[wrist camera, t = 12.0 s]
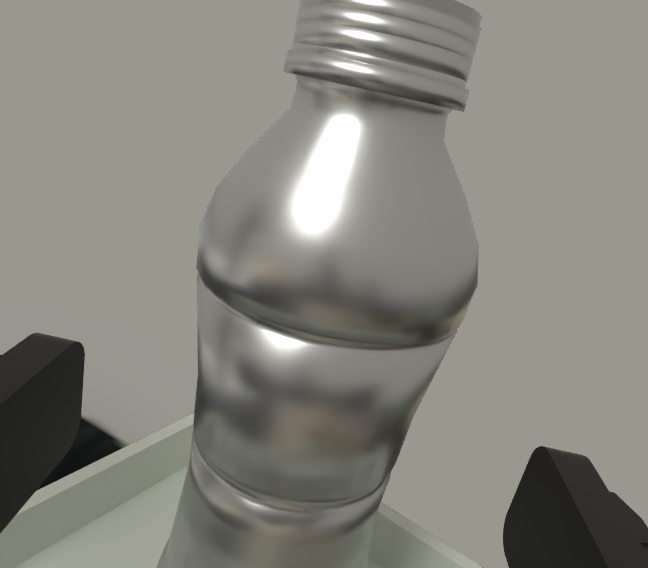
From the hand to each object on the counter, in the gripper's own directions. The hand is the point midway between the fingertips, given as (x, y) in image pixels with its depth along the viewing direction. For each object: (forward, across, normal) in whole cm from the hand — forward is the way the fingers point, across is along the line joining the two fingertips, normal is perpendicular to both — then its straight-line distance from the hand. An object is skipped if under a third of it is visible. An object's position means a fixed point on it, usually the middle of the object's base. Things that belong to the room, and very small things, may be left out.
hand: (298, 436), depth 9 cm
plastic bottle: (+4, 0, +13) cm, 13 cm away
